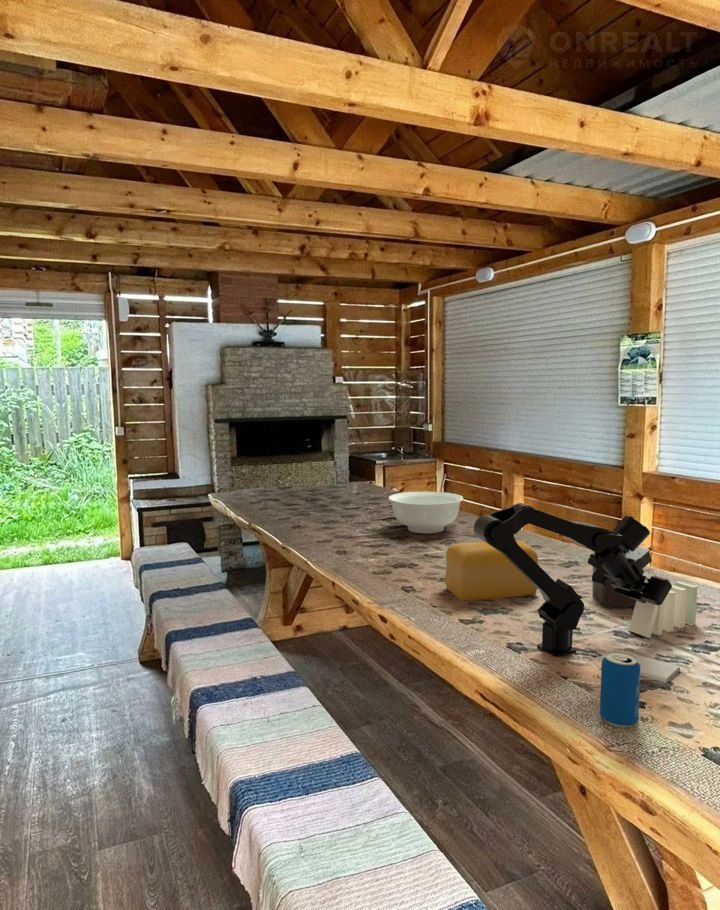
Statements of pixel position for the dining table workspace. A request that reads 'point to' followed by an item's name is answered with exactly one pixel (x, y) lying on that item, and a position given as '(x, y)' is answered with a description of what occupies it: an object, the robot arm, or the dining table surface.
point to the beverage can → (620, 689)
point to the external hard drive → (656, 669)
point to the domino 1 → (643, 618)
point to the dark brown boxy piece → (611, 596)
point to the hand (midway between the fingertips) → (644, 601)
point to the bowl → (425, 510)
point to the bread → (485, 572)
